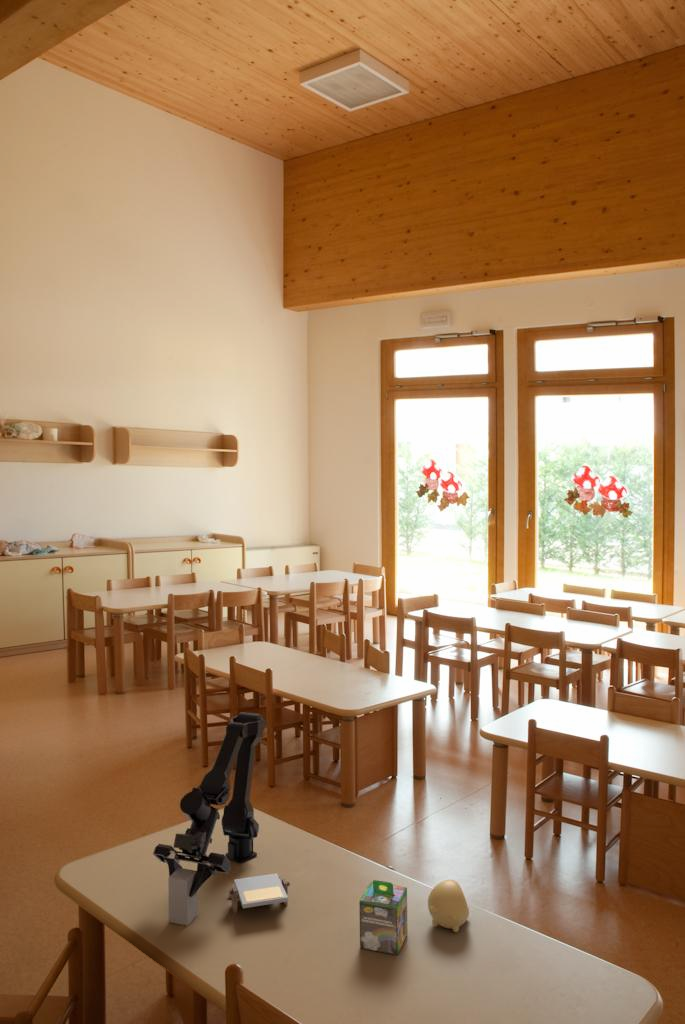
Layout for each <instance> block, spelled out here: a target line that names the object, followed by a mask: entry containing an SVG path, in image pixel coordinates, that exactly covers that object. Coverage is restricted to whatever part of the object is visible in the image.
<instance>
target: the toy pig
mask: <svg viewBox="0 0 685 1024" xmlns="http://www.w3.org/2000/svg"><path fill="white" fill-rule="evenodd" d="M427 908H428V912H429V915H430V916H431V918H432V922H431V925H432V926H433V927H438V926H441V927H442V928H445V929H452V931H453V932H454V933H457V932H459V930H460V927H461V926H463V924H464V923H465V922H466V921H467V920H468V918H469V916H470V909H469V906H468V903H467V899H466V897H465V894H464V892H463V889H462V887H461V886H460V884H459V882H458V881H456V880H455V879H446V880H443V881H441V882H439V883H438V884H436V885H435V886H434V887H433V888H432V889H431V891H430V893H429V895H428V899H427Z"/></svg>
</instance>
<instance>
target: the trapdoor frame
mask: <svg viewBox="0 0 685 1024" xmlns="http://www.w3.org/2000/svg"><path fill="white" fill-rule="evenodd" d="M281 883H282V885H283V887H284V890H285V892H286V894H287V896H288V891H289V890H288V887H290V886H291V884H290V881H287V880H286V877H281ZM238 898H239V896H238V893H237V889H236V886H235V884H232V885H231V890H229V891H228V899H231V908H232V912H233V914H237V913H238ZM288 901H289V900H288ZM288 901H287V902H282V903H283V905H284V906H287V904H288V905H289V903H288Z"/></svg>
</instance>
